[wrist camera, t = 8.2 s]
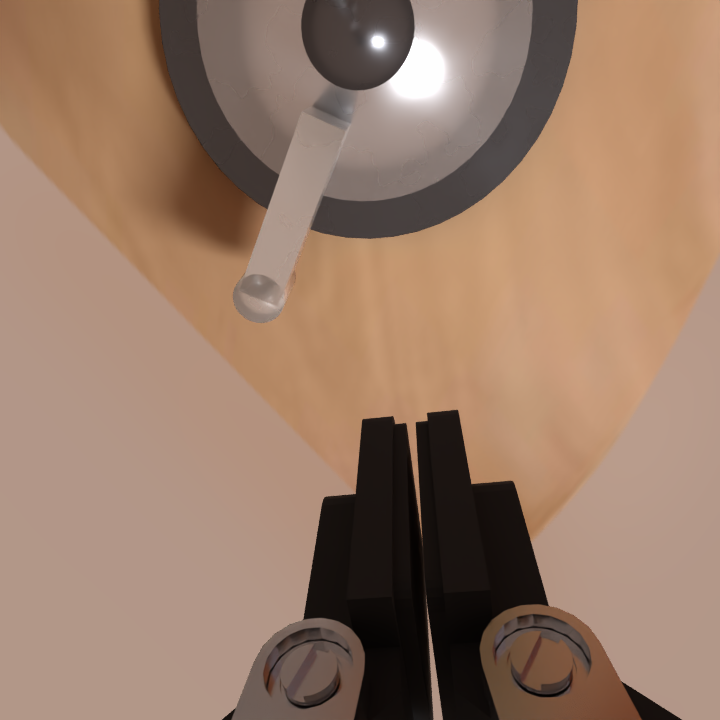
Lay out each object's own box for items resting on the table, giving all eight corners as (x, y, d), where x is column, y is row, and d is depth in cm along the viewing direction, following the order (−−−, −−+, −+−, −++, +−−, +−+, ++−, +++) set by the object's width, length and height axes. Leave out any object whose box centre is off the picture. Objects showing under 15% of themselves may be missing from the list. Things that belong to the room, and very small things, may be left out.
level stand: (85, 4, 24) (71, 1, 23) (403, -366, 19) (402, -391, 18) (341, 299, 29) (339, 308, 28) (647, 66, 24) (658, 66, 23)
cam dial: (267, -237, 20) (235, -312, 16) (586, -70, 22) (630, -100, 17) (145, 232, 27) (101, 262, 23) (390, 333, 29) (389, 377, 25)
